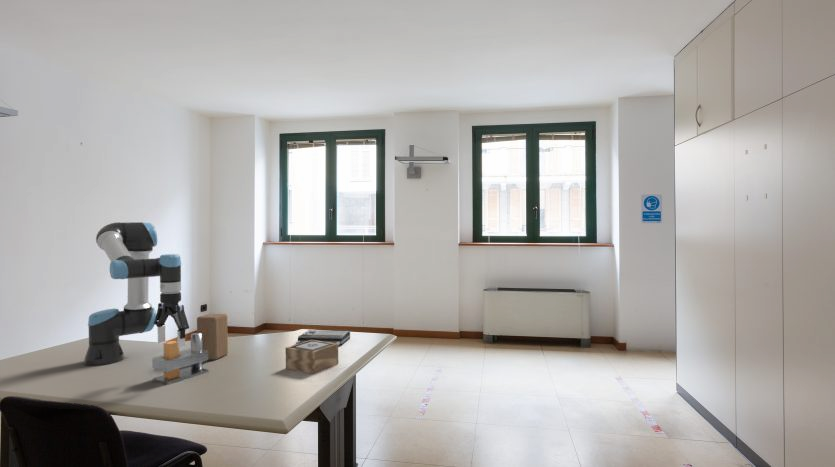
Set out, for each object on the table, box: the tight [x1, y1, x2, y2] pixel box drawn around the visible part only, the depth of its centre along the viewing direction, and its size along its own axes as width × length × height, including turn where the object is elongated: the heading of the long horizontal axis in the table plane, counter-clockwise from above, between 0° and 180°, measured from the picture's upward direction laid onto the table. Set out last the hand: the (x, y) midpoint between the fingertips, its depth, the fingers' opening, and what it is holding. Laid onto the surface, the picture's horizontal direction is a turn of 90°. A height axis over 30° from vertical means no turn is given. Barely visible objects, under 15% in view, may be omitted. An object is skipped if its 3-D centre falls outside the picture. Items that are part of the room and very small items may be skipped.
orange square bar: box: [163, 340, 180, 379], centre depth 184 cm, size 4×4×14 cm
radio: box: [295, 329, 351, 347], centre depth 242 cm, size 24×5×20 cm
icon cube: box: [296, 342, 329, 351], centre depth 197 cm, size 10×10×10 cm
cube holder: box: [285, 340, 339, 375], centre depth 200 cm, size 16×16×9 cm
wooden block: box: [196, 313, 229, 361], centre depth 215 cm, size 10×10×20 cm
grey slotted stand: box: [151, 332, 209, 385], centre depth 188 cm, size 10×18×16 cm, turn 150°
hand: (171, 344), depth 184 cm, fingers open, 13 cm apart
